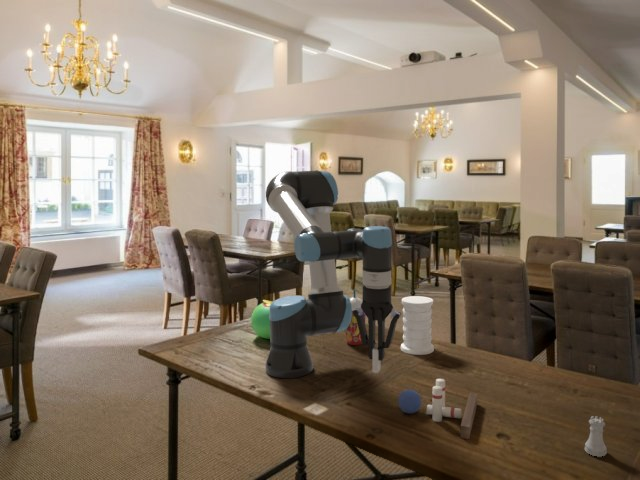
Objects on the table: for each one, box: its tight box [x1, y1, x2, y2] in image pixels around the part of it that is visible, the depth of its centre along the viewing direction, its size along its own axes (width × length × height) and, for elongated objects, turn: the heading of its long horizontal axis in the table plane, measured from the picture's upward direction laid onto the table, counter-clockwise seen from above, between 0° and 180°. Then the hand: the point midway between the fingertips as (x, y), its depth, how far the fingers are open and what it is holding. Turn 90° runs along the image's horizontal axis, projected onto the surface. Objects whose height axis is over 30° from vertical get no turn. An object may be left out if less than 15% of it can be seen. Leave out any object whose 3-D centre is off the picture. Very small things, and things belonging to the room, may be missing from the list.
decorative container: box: [400, 295, 435, 356], centre depth 189 cm, size 12×12×18 cm
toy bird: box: [250, 299, 275, 340], centre depth 206 cm, size 18×17×15 cm
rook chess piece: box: [584, 415, 608, 458], centre depth 119 cm, size 4×4×8 cm
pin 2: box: [431, 385, 443, 423], centre depth 137 cm, size 2×2×8 cm
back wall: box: [460, 392, 478, 440], centre depth 136 cm, size 2×20×3 cm, turn 159°
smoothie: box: [344, 289, 367, 346], centre depth 197 cm, size 8×8×20 cm
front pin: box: [426, 404, 462, 420], centre depth 139 cm, size 2×2×8 cm
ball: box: [397, 389, 422, 414], centre depth 141 cm, size 6×6×6 cm
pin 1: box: [435, 378, 446, 407], centre depth 141 cm, size 2×2×8 cm
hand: (376, 370), depth 145 cm, fingers closed
